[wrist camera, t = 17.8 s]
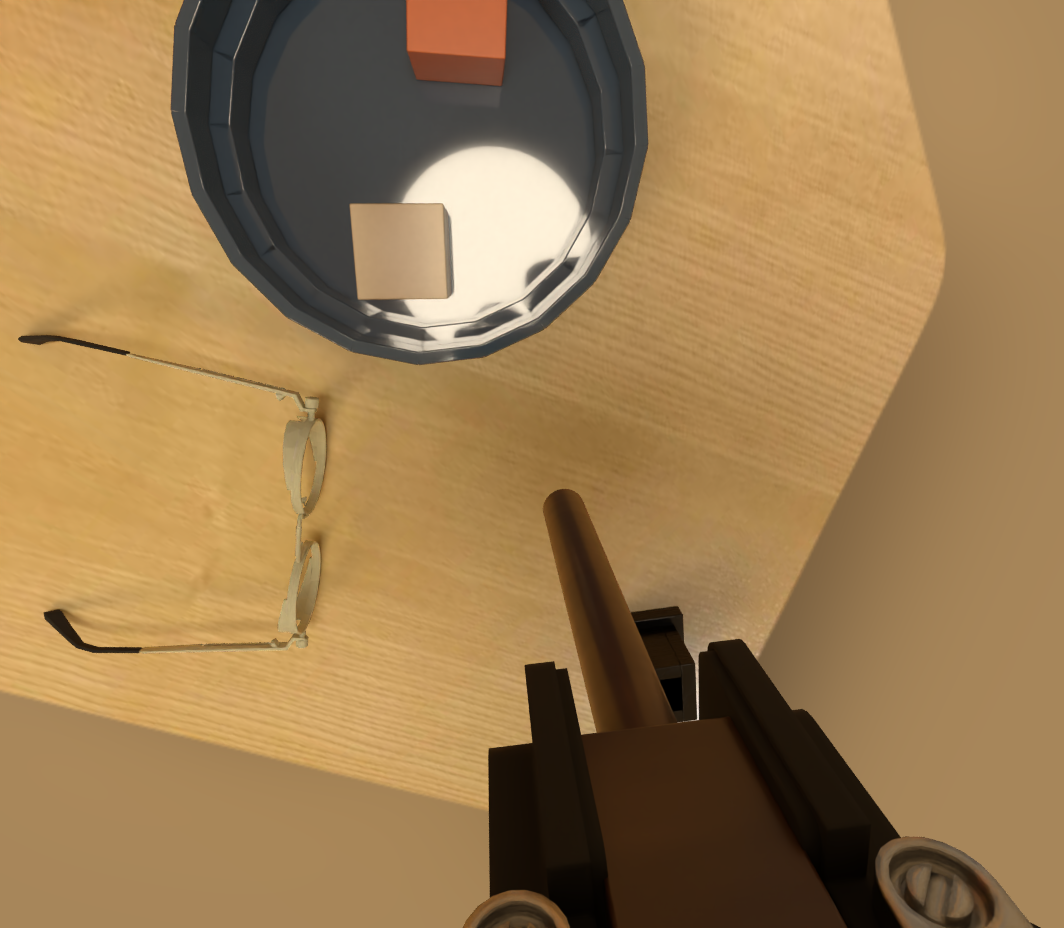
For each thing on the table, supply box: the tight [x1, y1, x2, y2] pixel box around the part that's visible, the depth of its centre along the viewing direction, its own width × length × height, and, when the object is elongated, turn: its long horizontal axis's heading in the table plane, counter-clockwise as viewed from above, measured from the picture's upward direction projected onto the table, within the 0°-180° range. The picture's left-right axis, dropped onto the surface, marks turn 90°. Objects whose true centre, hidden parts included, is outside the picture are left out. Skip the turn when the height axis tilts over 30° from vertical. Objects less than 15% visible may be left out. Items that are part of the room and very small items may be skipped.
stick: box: [543, 489, 848, 928], centre depth 14 cm, size 2×2×16 cm
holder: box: [631, 607, 697, 722], centre depth 37 cm, size 5×5×5 cm
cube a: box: [406, 0, 507, 86], centre depth 27 cm, size 4×4×4 cm
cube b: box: [350, 203, 451, 300], centre depth 29 cm, size 4×4×4 cm
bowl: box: [171, 0, 648, 365], centre depth 28 cm, size 19×19×5 cm
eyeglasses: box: [18, 335, 326, 653], centre depth 32 cm, size 17×15×5 cm
